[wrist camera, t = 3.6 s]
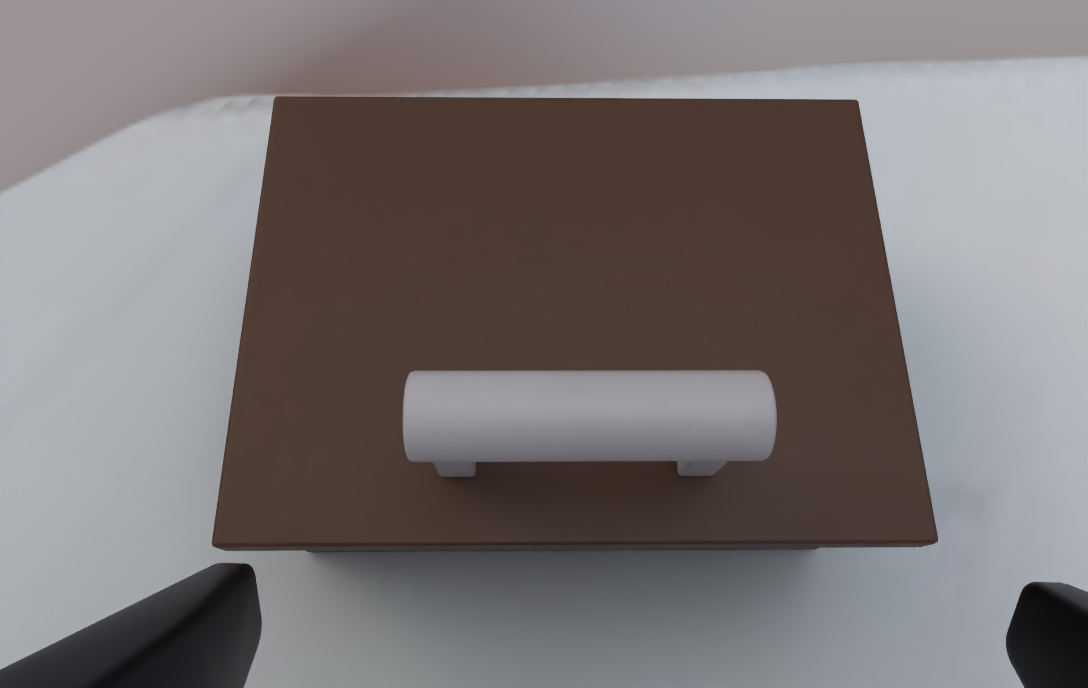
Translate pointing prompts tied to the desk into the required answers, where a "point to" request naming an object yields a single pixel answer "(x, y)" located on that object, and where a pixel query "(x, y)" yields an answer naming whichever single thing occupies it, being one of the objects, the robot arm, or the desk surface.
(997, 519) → the desk surface
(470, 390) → the lid
